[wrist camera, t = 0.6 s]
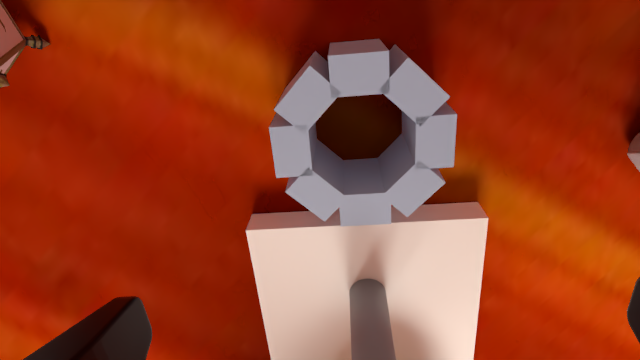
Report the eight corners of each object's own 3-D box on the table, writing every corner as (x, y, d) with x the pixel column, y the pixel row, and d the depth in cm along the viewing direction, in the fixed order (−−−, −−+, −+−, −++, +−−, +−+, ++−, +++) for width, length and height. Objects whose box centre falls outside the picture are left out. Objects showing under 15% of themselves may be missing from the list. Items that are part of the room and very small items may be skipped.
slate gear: (431, 181, 19) (450, 220, 16) (293, 190, 19) (283, 229, 16) (437, 33, 16) (461, 44, 13) (274, 47, 17) (259, 61, 13)
